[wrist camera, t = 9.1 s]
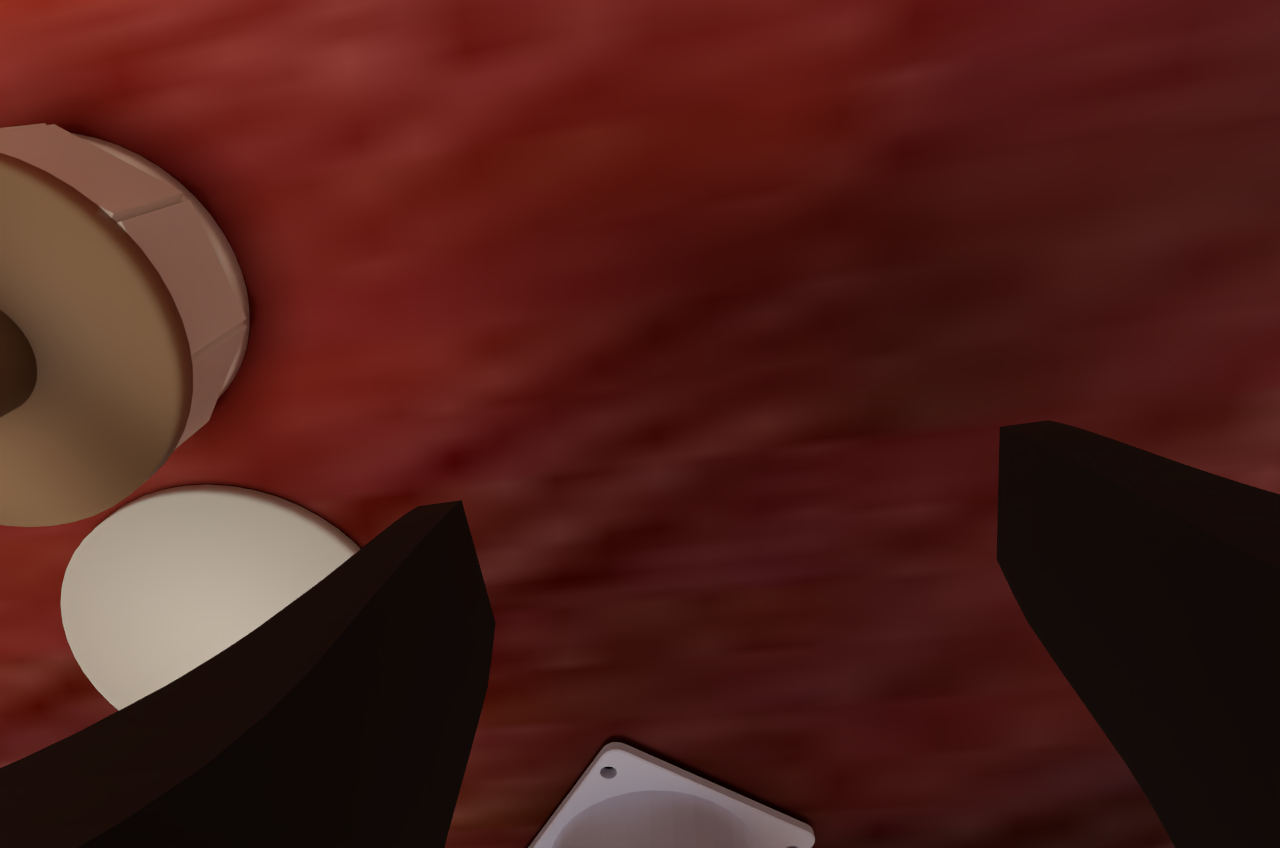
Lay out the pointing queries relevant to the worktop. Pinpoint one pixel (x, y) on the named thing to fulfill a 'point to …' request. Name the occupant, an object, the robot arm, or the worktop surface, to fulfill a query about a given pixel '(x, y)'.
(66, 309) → the lid
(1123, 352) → the worktop surface
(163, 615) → the coaster
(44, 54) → the worktop surface
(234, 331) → the bowl
